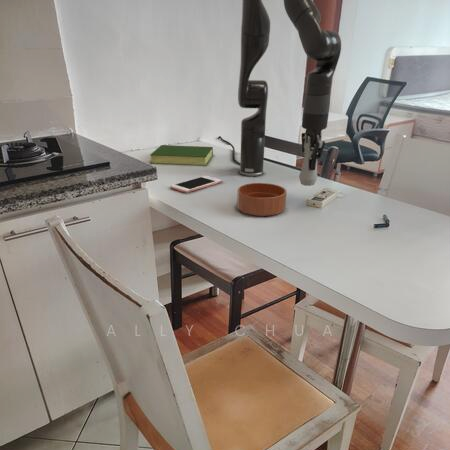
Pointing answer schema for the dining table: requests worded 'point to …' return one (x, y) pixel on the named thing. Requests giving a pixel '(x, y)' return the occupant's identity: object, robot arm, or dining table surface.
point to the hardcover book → (182, 155)
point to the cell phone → (195, 184)
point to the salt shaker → (305, 175)
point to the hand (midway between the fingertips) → (309, 169)
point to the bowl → (261, 199)
